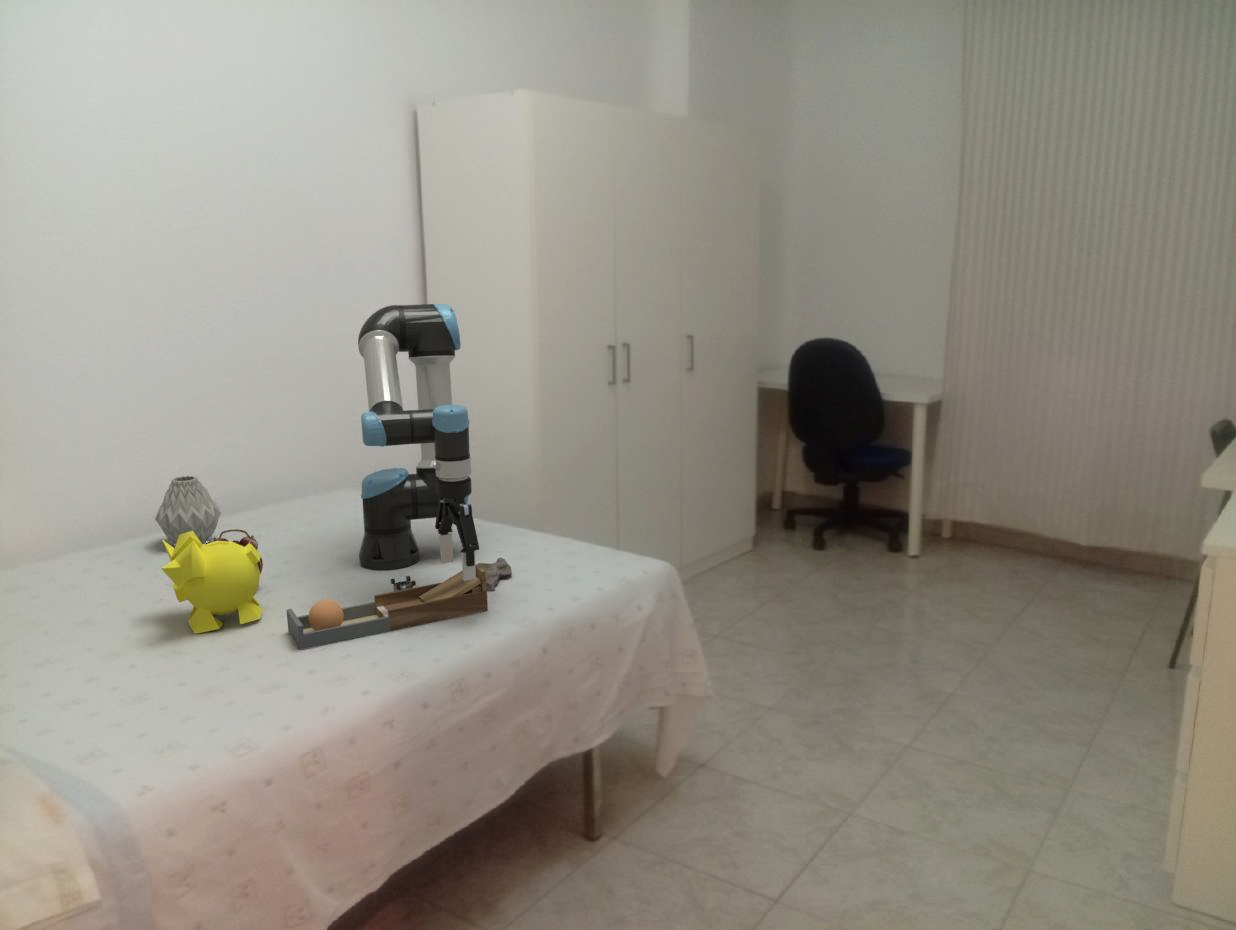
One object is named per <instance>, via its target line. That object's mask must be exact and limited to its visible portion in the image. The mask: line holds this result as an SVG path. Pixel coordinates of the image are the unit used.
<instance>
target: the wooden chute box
mask: <svg viewBox="0 0 1236 930" xmlns="http://www.w3.org/2000/svg"><path fill="white" fill-rule="evenodd" d="M475 567H476V579H472V580H467V581H464V580H463V570H462V569H461V571H459V572H458V573H456V574H454V575H453V576H450V577H449V578H448V579H446V580H444V581H442V582H438V583H432V584H426V585H422V586H416V587H415V586H414V587H413V588H410V589H405V590H400V591H394V590H393V591H389V592H386V593H385V592H384V593H379V594H375V595H374V597H373V600H374V602H375V603H376V615H377V616H378V617H379V618H382V617H387V616H388V617H389V619H390V631H389V632H392V631H396V630H401V629H406V628H410V627H414V626H419V625H425V624H429V623H430V624H431V623H435V622H439V621H444V620H450V619H453V618H459V617H463V616H464V617H465V616H468V615H473V614H477V613H482V612H488V610H489V609H488V608H489V607H488V591H486V572H485V571H484V570H483V569H482V568H480V567H479V566H477V564H476V563H475Z"/></svg>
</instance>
